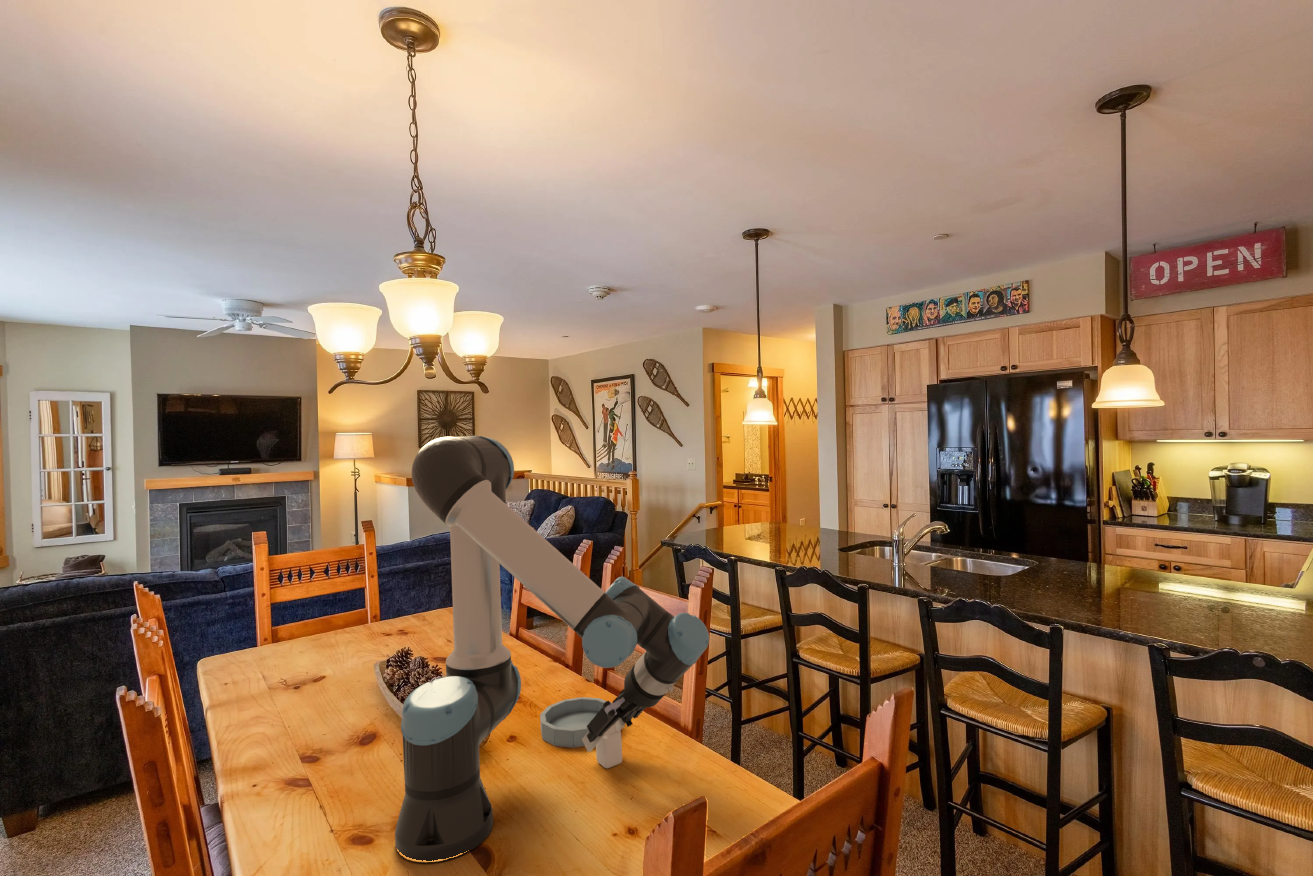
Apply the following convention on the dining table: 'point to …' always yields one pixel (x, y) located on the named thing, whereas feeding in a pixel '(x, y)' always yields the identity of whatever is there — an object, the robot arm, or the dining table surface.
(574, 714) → the bowl
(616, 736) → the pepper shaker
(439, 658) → the dining table surface
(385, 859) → the dining table surface
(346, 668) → the dining table surface
